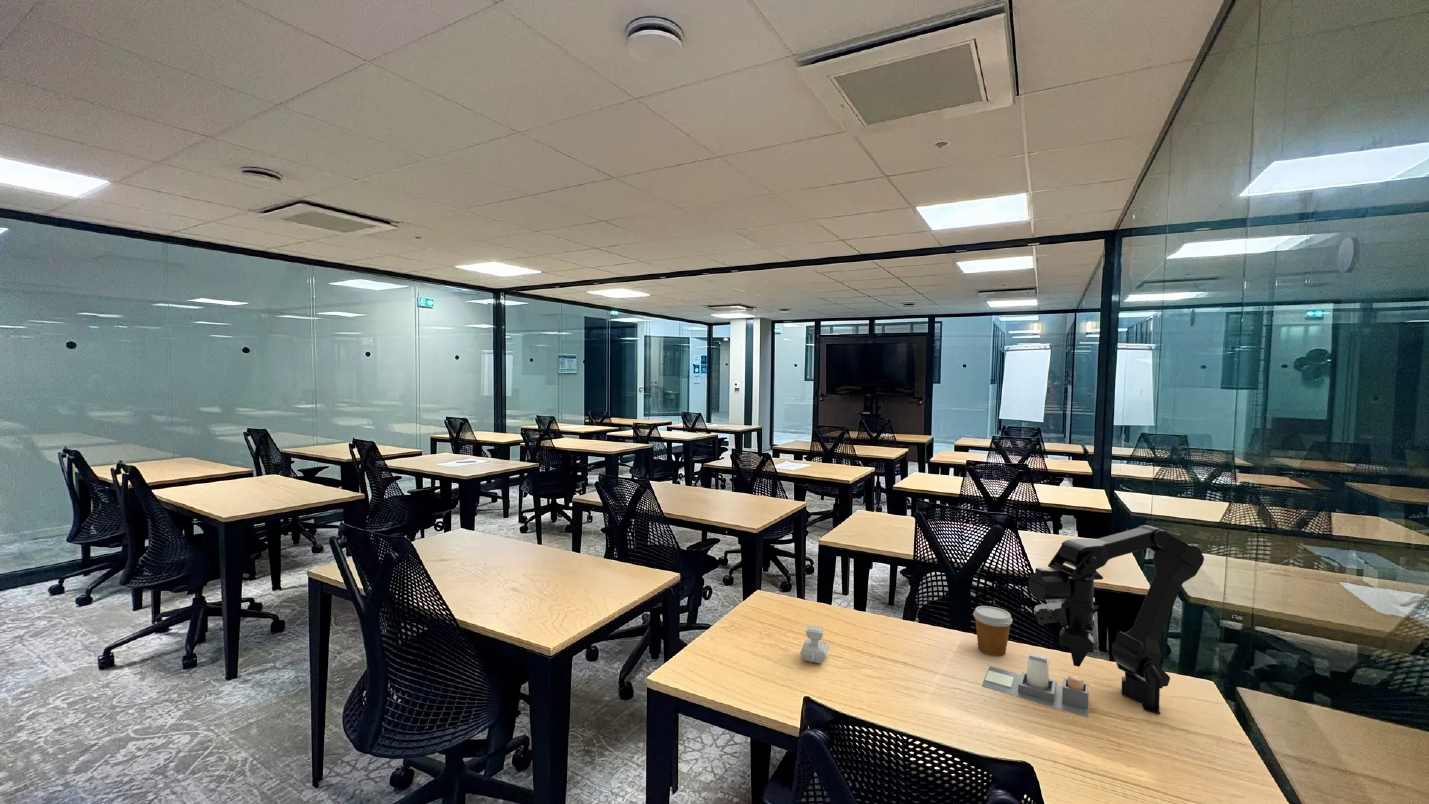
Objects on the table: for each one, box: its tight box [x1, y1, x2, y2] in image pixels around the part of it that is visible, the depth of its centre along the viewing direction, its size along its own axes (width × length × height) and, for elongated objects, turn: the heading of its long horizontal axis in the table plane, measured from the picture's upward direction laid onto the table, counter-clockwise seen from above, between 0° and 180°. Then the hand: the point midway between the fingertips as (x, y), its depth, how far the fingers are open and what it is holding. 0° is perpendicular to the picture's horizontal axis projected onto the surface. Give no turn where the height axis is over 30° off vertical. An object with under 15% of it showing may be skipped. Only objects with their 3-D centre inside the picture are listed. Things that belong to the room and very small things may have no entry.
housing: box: [981, 665, 1090, 718], centre depth 130 cm, size 21×12×5 cm, turn 55°
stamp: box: [800, 624, 830, 665], centre depth 146 cm, size 9×7×8 cm
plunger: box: [1067, 675, 1085, 691], centre depth 125 cm, size 3×3×3 cm
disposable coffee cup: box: [972, 605, 1013, 657], centre depth 150 cm, size 10×10×12 cm
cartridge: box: [1026, 653, 1050, 691], centre depth 130 cm, size 4×4×8 cm
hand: (1076, 665), depth 125 cm, fingers closed
